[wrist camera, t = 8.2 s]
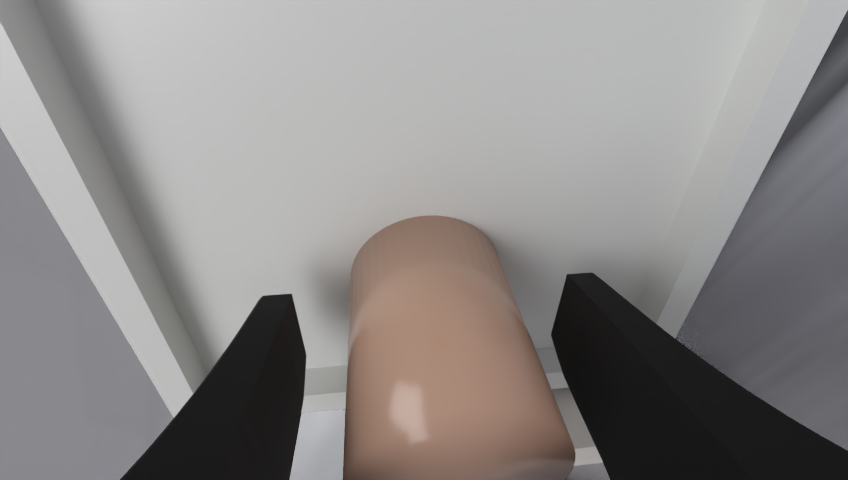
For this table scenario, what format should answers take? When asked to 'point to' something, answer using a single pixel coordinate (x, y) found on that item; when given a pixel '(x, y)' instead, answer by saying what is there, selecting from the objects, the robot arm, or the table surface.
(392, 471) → the tan rounded cylinder
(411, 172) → the parts tray
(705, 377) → the robot arm
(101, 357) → the table surface
